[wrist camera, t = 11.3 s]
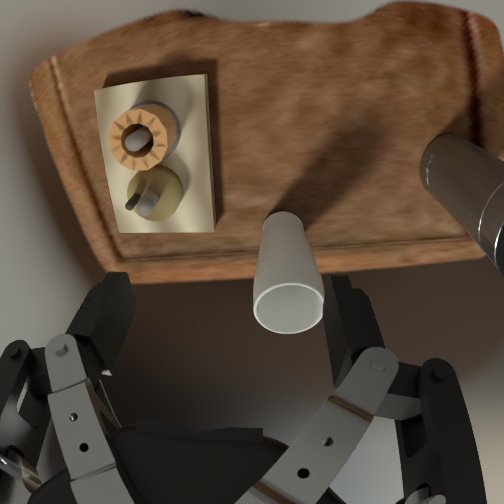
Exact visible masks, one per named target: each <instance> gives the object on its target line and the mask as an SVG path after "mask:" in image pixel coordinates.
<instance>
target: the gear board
mask: <svg viewBox="0 0 504 504" xmlns="http://www.w3.org/2000/svg"><path fill="white" fill-rule="evenodd" d="M94 94H95V103H96V111H97V119H98V126H99V133H100V139H101V146H102V152H103V158H104V163H105V169H106V174H107V179H108V184H109V189H110V194H111V199H112V203H113V208H114V212H115V216H116V221H117V225H118V229H119V233H150V232H215V228H216V212H215V198H214V184H213V169H212V153H211V136H210V118H209V97H208V74H199V75H187V76H177V77H169V78H161V79H153V80H146V81H140V82H134V83H128V84H122V85H117V86H112V87H107V88H102V89H98V90H94ZM146 104H157V105H159V106H161V107H163V108H166V109H168V110H169V112H170V113H171V115H172V116H173V118H174V119H175V120H176V122H177V133H178V138H177V140H176V142H175V144H174V146H173V148H172V150H171V151H170V152H169V153H168V154H167V155H166V156H165V157H164V158H163V160H162V161H160V162H159V163H158V164H156V165H155V166H153V167H152V168H150V169H149V170H139V171H133V170H130V169H128V168H126V167H124V166H122V165H120V164H119V163H118V161H117V160H116V159H115V157H114V156H113V155H112V153H111V152H110V146H109V139H108V135H109V132H110V129H111V127H112V124H113V121H114V120H116V119H117V118H118V117H119V116H120V115H122V114H123V113H124V112H125V111H127V110H130V109H132V108H135V107H137V106H140V105H146ZM125 145H126V147H127V149H128V150H130V151H138V150H139V149H140V148H142V147H143V146H146V147H153V145H154V140H153V134H152V133H151V131H150V130H149V128H148V127H147V126H144V125H142V124H140V123H137V125H136V127H135V132H133V133H132V134H130V135H129V136H128V137H127V138H126V140H125Z"/></svg>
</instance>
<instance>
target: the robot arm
mask: <svg viewBox="0 0 504 504" xmlns="http://www.w3.org/2000/svg"><path fill="white" fill-rule="evenodd" d="M420 173H421V179H422V182H423V185H424V187H425V188H426V190H427V191H428V192H429V193H430V194H431V195H432V196H433V197H434V198H435V199H436V200H437V201H438V202H439V203H440V204H441V205H442V206H443V207H444V208H445V209H446V210H447V211H448V212H449V213H450V214H451V215H452V216H453V218H454V219H455V220H456V221H457V222H458V223H459V224H460V225H461V226H462V227H463V228H464V229H465V230H466V232H467V233H468V234H469V235H470V236H471V237H472V238H473V239H474V241H475V242H476V243H477V244H478V245H479V246H480V248H481V249H482V250H483V251H484V252H485V253H486V254H487V256H488V257H489V258H490V259H491V260H492V262H493V263H494V264H495V265H496V267H497V268H498V269H499V271H500V272H501V273H502V275H503V276H504V161H502V160H501V159H499V158H497V157H496V156H494V155H492V154H491V153H489V152H487V151H486V150H484V149H482V148H480V147H479V146H477V145H475V144H473V143H472V142H470V141H468V140H466V139H464V138H462V137H460V136H458V135H454V134H446V135H442V136H440V137H438V138H436V139H435V140H434V141H433V142H432V143H430V145H429V146H428V147H427V149H426V150H425V153H424V155H423V157H422V161H421V167H420ZM136 309H137V304H136V298H135V295H134V292H133V289H132V286H131V282H130V279H129V276H128V274H127V273H126V272H108V273H107V275H106V276H105V278H104V280H103V281H102V283H98V284H97V285H95V286H94V287H93V288H92V289H91V290H90V291H89V292H88V294H87V296H86V298H85V299H84V301H83V303H82V304H81V306H80V309H79V310H78V311H77V313H76V315H75V317H74V319H73V320H72V322H71V324H70V326H69V328H68V329H67V331H66V333H65V334H61V335H58V336H56V337H54V338H52V339H51V340H50V341H49V342H48V344H47V346H46V347H42V348H35V349H31V348H30V347H29V345H28V344H27V343H26V342H25V341H24V340H16V341H14V342H12V343H10V344H9V345H8V346H7V347H6V348H5V350H4V352H3V354H2V356H1V357H0V504H346V503H345V502H344V501H343V500H342V499H341V498H340V497H339V496H338V495H337V494H336V493H335V492H334V491H333V490H331V488H330V487H329V485H330V484H331V483H332V481H333V480H334V478H335V477H336V476H337V474H338V473H339V472H340V470H341V469H342V467H343V466H344V464H345V463H346V461H347V460H348V458H349V457H350V455H351V454H352V452H353V451H354V449H355V448H356V446H357V445H358V443H359V441H360V440H361V438H362V437H363V435H364V433H365V432H366V430H367V428H368V427H369V425H370V423H371V422H372V420H373V417H374V416H379V417H385V418H390V419H394V420H395V426H396V433H397V439H398V447H399V454H400V462H401V471H402V480H403V492H404V498H402V499H401V500H399V501H398V502H396V504H487V500H486V493H485V487H484V481H483V475H482V470H481V465H480V460H479V455H478V451H477V446H476V442H475V438H474V434H473V430H472V426H471V422H470V418H469V415H468V411H467V408H466V405H465V401H464V398H463V394H462V391H461V388H460V385H459V382H458V379H457V376H456V373H455V370H454V369H453V367H452V366H451V365H450V364H449V363H448V362H446V361H445V360H442V359H439V358H432V359H429V360H427V361H426V362H425V363H424V364H423V365H422V367H421V366H415V365H410V364H405V363H402V362H399V361H398V360H397V358H396V357H395V355H394V354H392V352H390V351H389V350H387V349H386V348H385V345H384V342H383V339H382V335H381V333H380V330H379V326H378V323H377V320H376V318H375V314H374V311H373V310H372V306H371V303H370V300H369V297H368V296H367V295H366V294H365V293H364V292H363V291H362V290H361V289H360V288H359V289H358V288H356V289H352V286H351V283H350V280H349V277H348V276H347V275H346V276H328V279H327V285H326V290H325V296H324V301H323V309H322V316H323V323H324V329H325V335H326V341H327V347H328V353H329V359H330V365H331V371H332V378H333V385H334V388H336V387H339V388H338V389H337V390H336V392H335V393H334V395H333V396H332V397H331V396H330V397H329V398H328V399H327V400H326V401H325V403H324V404H323V405H322V406H321V408H320V409H319V410H318V412H317V413H316V415H315V416H314V417H313V418H312V420H311V421H310V422H309V423H308V425H307V426H306V427H305V429H304V430H303V431H302V433H301V434H300V435H299V436H298V437H297V439H296V440H295V441H294V442H293V443H292V444H291V446H290V447H289V446H287V445H286V444H284V443H282V442H280V441H278V440H276V439H273V438H270V437H267V436H263V428H238V427H229V428H223V429H217V430H210V431H203V432H195V431H191V430H189V429H186V428H183V427H180V426H178V425H175V424H172V423H169V422H167V421H160V420H153V419H147V418H140V417H138V419H137V423H136V425H131V426H127V427H123V428H122V427H121V426H120V424H119V422H118V421H117V419H116V417H115V415H114V413H113V410H112V408H111V405H110V403H109V401H108V398H107V396H106V393H105V391H104V388H103V386H102V383H101V381H100V377H101V375H102V374H107V375H112V374H113V371H114V368H115V366H116V363H117V360H118V357H119V355H120V352H121V350H122V347H123V344H124V342H125V339H126V337H127V334H128V331H129V328H130V327H131V324H132V322H133V319H134V317H135V314H136ZM23 387H24V388H25V389H26V390H27V392H26V394H25V397H24V399H23V402H22V405H21V407H20V410H19V413H18V412H17V408H16V407H17V402H18V399H19V397H20V394H21V391H22V389H23ZM51 415H52V418H53V422H54V425H55V429H56V433H57V436H58V440H59V443H60V446H61V449H62V452H63V455H64V458H65V461H66V464H67V467H66V468H64V469H63V470H61V471H60V472H59V473H57V474H56V475H55V476H53V477H52V478H51V479H49V480H48V481H46V482H45V483H44V484H42V481H41V480H40V479H39V474H38V471H37V469H36V467H37V463H38V459H39V456H40V452H41V448H42V445H43V441H44V438H45V435H46V431H47V428H48V425H49V422H50V418H51Z"/></svg>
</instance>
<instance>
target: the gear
mask: <svg viewBox="0 0 504 504" xmlns="http://www.w3.org/2000/svg"><path fill="white" fill-rule="evenodd" d="M137 123H140V124H142V125H144V126H147V127H148V128H149V130H150V131H151V133H152V134H153V140H154V145H153V147H146V146H143V147H142V148H140V149H139V150H138V151H130V150H128V149H127V147H126V145H125V140H126V138H127V137H128V136H129V135H130V134H132V133H133V132H135V127H136V125H137ZM177 138H178V133H177V122H176V120H175V119H174V118H173V116H172V115H171V113H170V112H169V110H168V109H166V108H163V107H161V106H159V105H157V104H146V105H140V106H137V107H135V108H132V109H130V110H127V111H125V112H124V113H123V114H122V115H120V116H119V117H118V118H117V119H116V120H114V121H113V124H112V127H111V129H110V132H109V135H108V139H109V146H110V152H111V153H112V155H113V156H114V157H115V159H116V160H117V161H118V163H119V164H120V165H122V166H124V167H126V168H128V169H130V170H133V171H139V170H149V169H150V168H152V167H153V166H155V165H156V164H158V163H159V162H160V161H162V160H163V158H164V157H165V156H166V155H167V154H168V153H169V152H170V151H171V150H172V148H173V146H174V144H175V142H176V140H177Z"/></svg>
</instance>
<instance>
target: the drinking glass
mask: <svg viewBox="0 0 504 504" xmlns="http://www.w3.org/2000/svg"><path fill="white" fill-rule="evenodd" d="M324 296H325V294H324V288H323V283H322V279H321V275H320V272H319V269H318V266H317V263H316V260H315V258H314V255H313V253H312V250H311V247H310V245H309V242H308V239H307V237H306V234H305V231H304V227H303V224H302V222H301V220H300V219H299V218H298V217H297V216H296V215H295V214H293V213H290V212H286V211H281V212H276V213H273V214H272V215H270V216H269V217H268V218H267V219H266V220H265V221H264V223H263V226H262V237H261V243H260V249H259V254H258V260H257V265H256V271H255V278H254V291H253V303H254V315H255V317H256V319H257V321H258V322H259V323H260V324H261V325H262V326H263V327H265V328H266V329H268V330H271V331H273V332H277V333H284V334H291V333H298V332H302V331H305V330H307V329H309V328H311V327H312V326H314V325H316V324H317V323H318V322H319V321H320V320H321V318H322V317H323V316H322V309H323V301H324Z"/></svg>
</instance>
